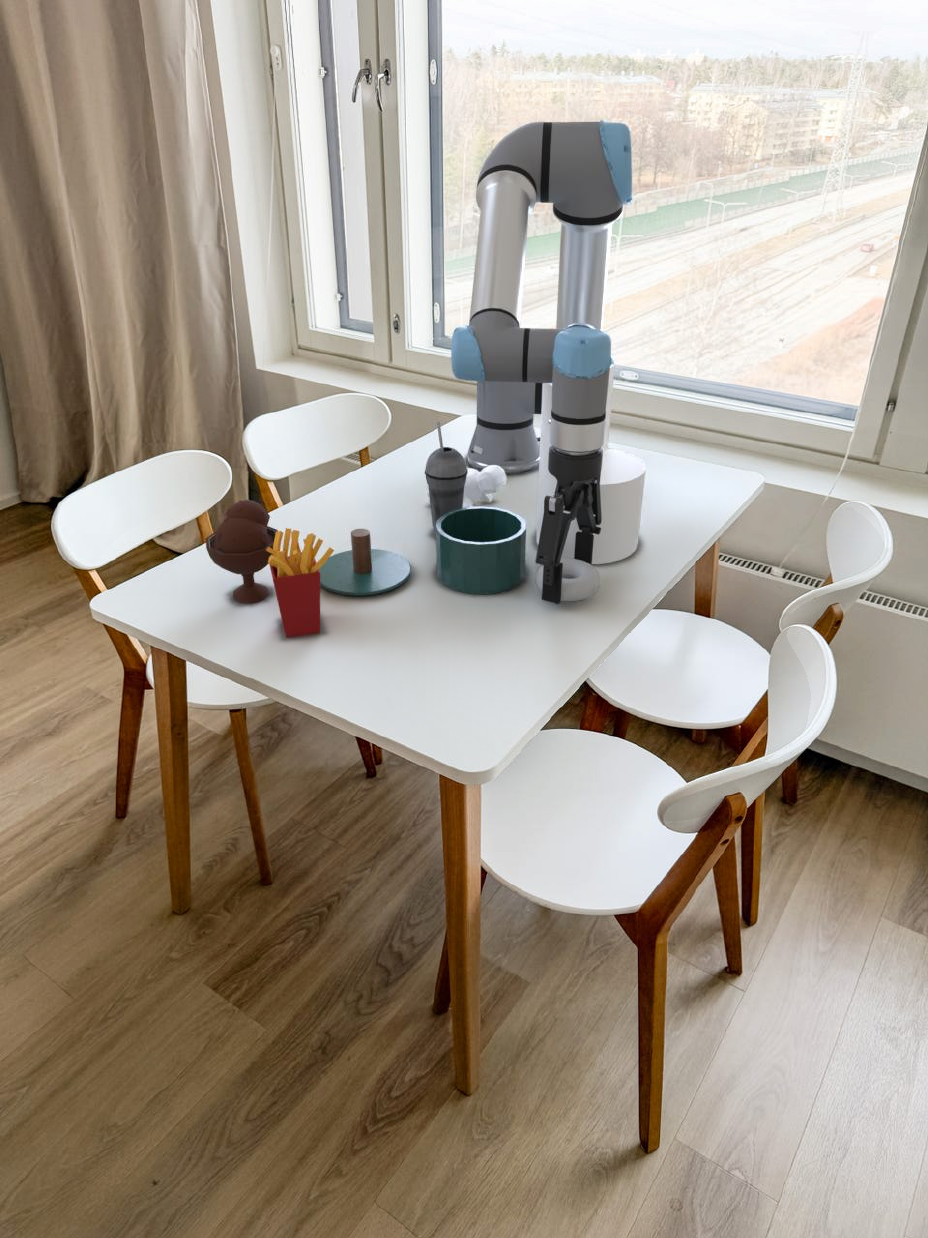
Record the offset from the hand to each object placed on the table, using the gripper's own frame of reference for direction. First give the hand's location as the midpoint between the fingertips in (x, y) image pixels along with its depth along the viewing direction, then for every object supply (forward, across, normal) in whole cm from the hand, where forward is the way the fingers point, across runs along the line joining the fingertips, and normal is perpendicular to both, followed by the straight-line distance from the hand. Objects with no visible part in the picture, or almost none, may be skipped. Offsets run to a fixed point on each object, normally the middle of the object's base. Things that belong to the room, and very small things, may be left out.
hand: (567, 585), depth 133 cm
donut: (+1, 0, 0) cm, 1 cm away
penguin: (+2, -21, -30) cm, 37 cm away
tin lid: (+1, +11, -30) cm, 32 cm away
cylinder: (+2, -19, -5) cm, 20 cm away
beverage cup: (+2, -9, -27) cm, 29 cm away
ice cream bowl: (+2, +25, -41) cm, 49 cm away
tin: (+2, +1, -15) cm, 15 cm away
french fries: (+2, +27, -28) cm, 39 cm away
